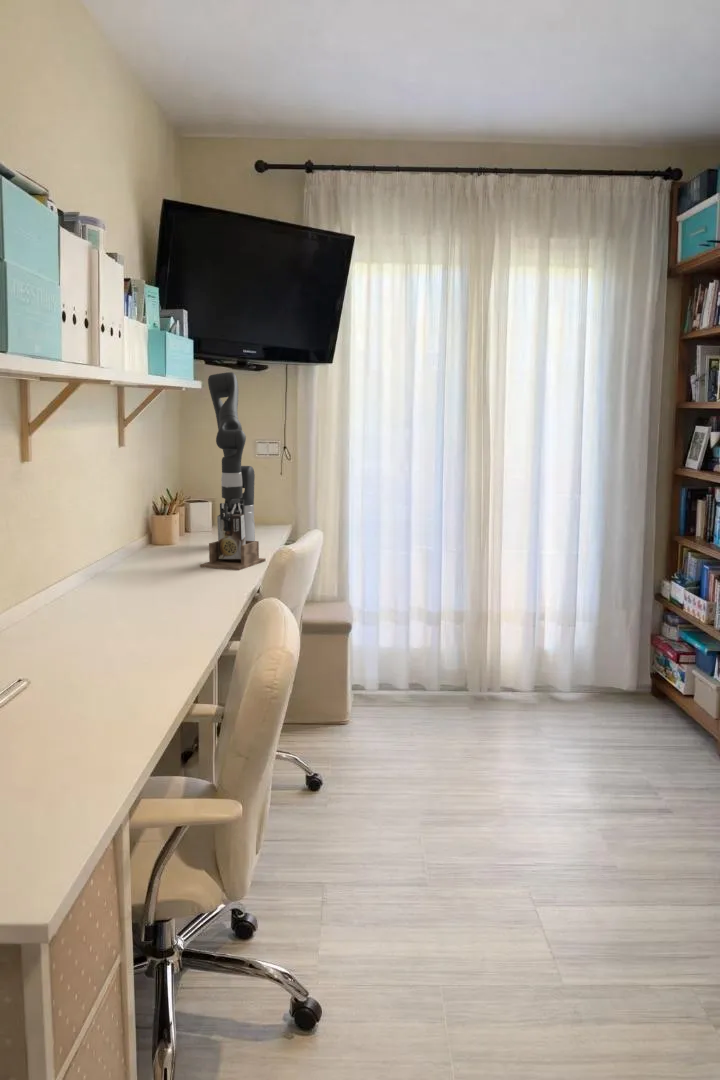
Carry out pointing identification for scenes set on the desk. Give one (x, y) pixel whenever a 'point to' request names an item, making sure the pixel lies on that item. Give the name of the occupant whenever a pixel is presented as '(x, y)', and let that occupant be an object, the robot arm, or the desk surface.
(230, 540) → the coffee box
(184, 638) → the desk surface
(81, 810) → the desk surface
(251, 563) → the holder
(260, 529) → the desk surface
